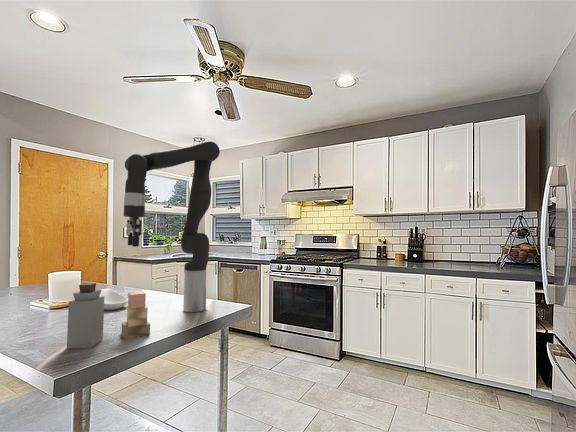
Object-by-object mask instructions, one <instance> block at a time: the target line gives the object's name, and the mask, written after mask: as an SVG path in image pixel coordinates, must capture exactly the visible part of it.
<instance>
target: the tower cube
mask: <svg viewBox="0 0 576 432" xmlns="http://www.w3.org/2000/svg"><path fill="white" fill-rule="evenodd" d="M148 309H149V308H148V306H147V305H146V303H145V307H143V308H135V309H130V308H129V307H128V305H127V311H126V322H127V325H128V327H134V326H141V325H147V322H148Z"/></svg>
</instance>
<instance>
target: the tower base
mask: <svg viewBox="0 0 576 432" xmlns="http://www.w3.org/2000/svg"><path fill="white" fill-rule="evenodd" d="M121 335H122V336H123V338H124V339H125V341H128V340H133V339H138V337H139V338H145V337H149V335H151V323H150V322H148V321H147V325H141V326H134V327H128V325H127V321H124V322H121Z"/></svg>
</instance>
